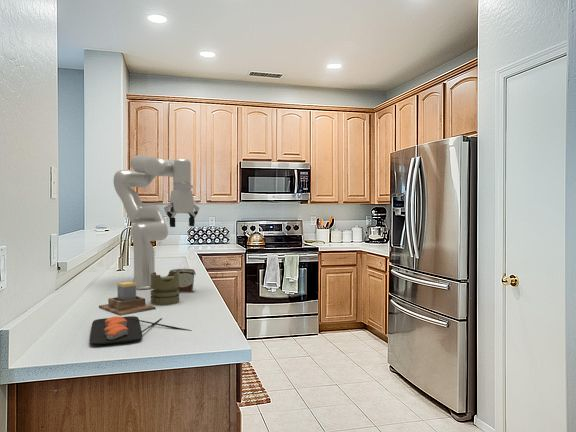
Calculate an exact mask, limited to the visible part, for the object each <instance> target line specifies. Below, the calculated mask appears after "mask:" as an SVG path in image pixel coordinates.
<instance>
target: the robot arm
mask: <svg viewBox="0 0 576 432" xmlns="http://www.w3.org/2000/svg"><path fill="white" fill-rule="evenodd" d="M129 167H130V168H131V169H120V170H118V171H116V173H114V175H113V187H114V190H115V192H116V194H117V196H118V197H119V198H120V201H121V202H122V205H123V208H124V210H125V213H126V215H127V217H128V219H129V221H130V222H131V223H134V224H133V225H132V226H131V230H130V231H131V237H132V238H131V239H132V244H133V278H132V281H133V282H134V283H136V290H152V288H151V273H153V272H156V270H155V262H156V261H155V250H154V249H155V248H154V246H153V245H152V243H151V242H158V241H163V240H165V239H167V237H168V235H169V230H168V226H167V223H166V221H165V219H164V216H163V213H162V211H161V209H160V207H159V206H158V205H156V204H154V203H145V202H142V200H141V198H140V196H139V194H138V193H137V191H135V190H134V189H133V188H146V187H148V186H150V184H152V182H153V181H154V179H155V178H156V177H168V178H169V177H170V178H172V179H173V180H172V185H173V186H172V190H171V191H170V197H169V204H168V205H166V206H165V207H163V210H164V212H165V214H166V216H167V217H168V218H169V227H170V228H175V227H176V218H175V217H176V215H177V214H188V215H189V217H188V226H189V227H195V224H196V223H195V218H196V217H197V215H198V213H199V211H200V207H199V206H197V205H196V204H195V202H194V201H195V200H194V195H193V191H192V189H193V188H194V186H193V184H192V172H191V171H192V170H191V167H192V164H191V161H190V159H186V158H177V159H166V158H158V157H156V156H152V155H142V154H141V155H135V156H132V158H131V159H130V161H129Z"/></svg>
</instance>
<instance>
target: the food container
mask: <svg viewBox="0 0 576 432" xmlns="http://www.w3.org/2000/svg"><path fill="white" fill-rule="evenodd" d="M169 271H176V272H179V287H178V288H177V289H179V293H193V292H194V283H195V282H194V281H195V275H196V271H195V269H193V268H174V269H170V270H169Z"/></svg>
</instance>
